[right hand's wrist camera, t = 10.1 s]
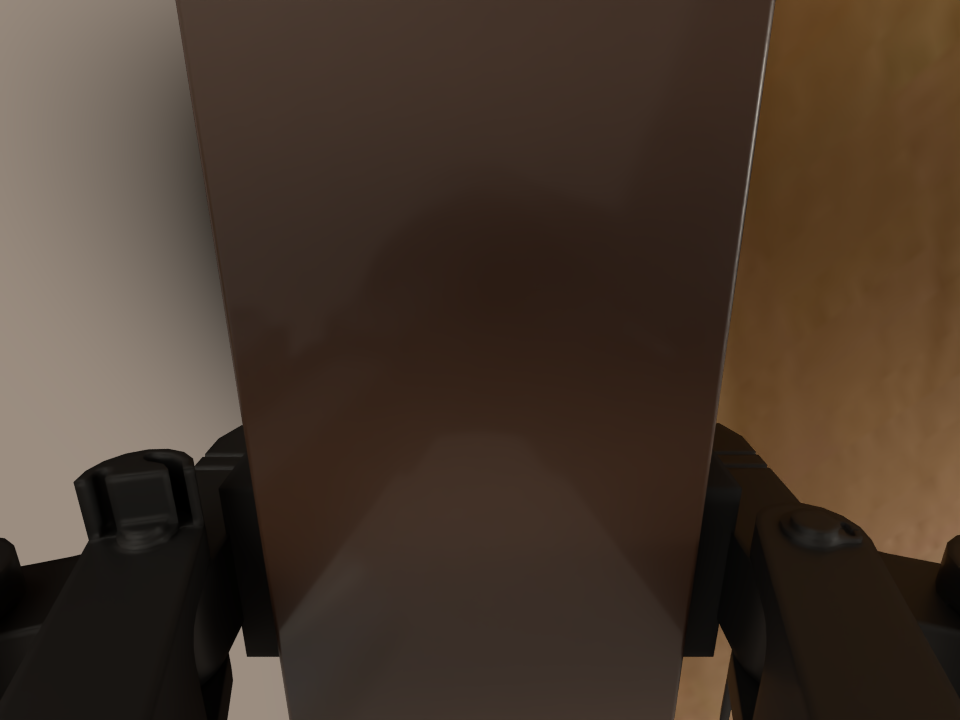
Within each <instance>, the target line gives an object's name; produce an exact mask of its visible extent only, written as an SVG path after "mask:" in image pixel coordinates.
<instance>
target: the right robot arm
mask: <svg viewBox="0 0 960 720" xmlns="http://www.w3.org/2000/svg"><path fill="white" fill-rule="evenodd" d="M74 486H75V490H76V493H77V497H78V501H79V505H80V509H81V512H82V516H83V520H84V524H85V527H86V531H87V535H88V539H89V541H88V543H87V545H86V547H85V549H84V550H83V552H82V554H81V555H77V556H73V557H68V558H62V559H57V560H52V561H47V562H42V563H37V564H31V565H26V566H20V563H19V559H18V556H17V553H16V550H15V547H14V545H13V544H11V543H10V542H9V541H8V540H6V539H5V538H0V720H227V718H228V711H229V704H230V697H231V690H232V683H233V677H232V669H231V663H230V658H229V651H230V649H231V647H232V645H233V642H234V640H235V638H236V636H237V634H238V632H239V630H240V628H241V626H242V630H243V636H244V642H245V647H246V654H247V657H279V650H278V644H277V638H276V631H275V625H274V619H273V612H272V606H271V600H270V593H269V587H268V581H267V574H266V568H265V562H264V556H263V549H262V543H261V537H260V530H259V524H258V518H257V511H256V505H255V499H254V492H253V486H252V480H251V473H250V467H249V461H248V454H247V448H246V442H245V436H244V429H243V425H241V426H240V427H238V428H236V429H234V430H233V431H231V432H229V433H227V434H226V435H224V436H222V437H220V438H219V439H218V440H217V441H216V442H215V443H214V444H213V446H212V447H211V448H210V449H209V450H208V451H207V453H206V454H205V457H202V458H201V459H200V461H199V462H198V463H197V464H196V465H195V466H194V461H193V458H191V457H190V456H189V455H187V454H186V453H185V452H181V451H176V450H171V449H149V450H143V451H138V452H132V453H127V454H123V455H120V456H118V457H115V458H112V459H109V460H106V461H103V462H101V463H100V464H98V465H96V466H94V467H92V468H90V469H88V470H86V471H85V472H84V473H83V474H82V475H81V476H80V477H79V478H78V479H76V480H75V481H74ZM719 624H720V626H721V628H722V630H723V632H724V634H725V636H726V638H727V640H728V642H729V644H730V646H731V648H732V652H731V657H730V663H729V668H728V674H727V679H726V685H725V690H724V695H723V701H722V706H721V713H720V720H729V717H730V711H731V710H732V716H733V720H960V535H957V536H955V537H954V538H953V539H951V540H950V541H949V542H947V546H946V549H945V552H944V555H943V558H942V561H941V564H939V563H934V562H929V561H924V560H918V559H913V558H908V557H903V556H897V555H892V554H887V553H883V552H879V551H877V549H876V547H875V546H874V544H873V542H872V540H871V539H870V538H869V537H868V535H867V534H866V533H865V532H864V531H863V530H862V529H861V528H860V527H859V526H858V525H856V524H854V523H853V522H851V521H850V520H848V519H847V518H845V517H844V516H842V515H839V514H837V513H834V512H832V511H829V510H827V509H824V508H822V507H817V506H813V505H808V504H803V503H800V502H799V501H798V499H797V498H796V497H795V496H794V495H793V494H792V493H791V491H790V490H789V489H788V488H787V487H786V486H785V485H784V483H783V482H782V481H781V480H780V479H779V478H778V477H777V476H776V474H775V473H774V472H773V471H772V470H771V469H770V468H767V464H766V463H765V462H764V461H763V460H762V458H761V457H760V456H759V455H756V452H755V450H754V449H753V448H752V447H751V446H750V445H749V444H748V443H747V441H746V440H745V439H744V438H743V437H742V436H741V435H739V434H737V433H735V432H734V431H732V430H730V429H728V428H727V427H725V426H723V425H721V424H720V423H716V426H715V433H714V440H713V447H712V454H711V461H710V469H709V476H708V483H707V490H706V497H705V504H704V511H703V518H702V525H701V532H700V540H699V547H698V554H697V561H696V568H695V575H694V582H693V589H692V596H691V603H690V610H689V618H688V625H687V632H686V639H685V646H684V653H683V657H713V656H714V650H715V644H716V639H717V633H718V627H719Z"/></svg>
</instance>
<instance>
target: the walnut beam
mask: <svg viewBox="0 0 960 720" xmlns="http://www.w3.org/2000/svg"><path fill="white" fill-rule="evenodd" d="M176 6H177V13H178V19H179V25H180V31H181V38H182V44H183V50H184V57H185V63H186V69H187V76H188V82H189V88H190V95H191V101H192V107H193V113H194V120H195V126H196V132H197V139H198V145H199V151H200V158H201V164H202V170H203V177H204V183H205V189H206V196H207V202H208V208H209V215H210V221H211V227H212V233H213V240H214V246H215V252H216V259H217V265H218V271H219V278H220V284H221V290H222V297H223V303H224V309H225V316H226V322H227V328H228V334H229V341H230V347H231V353H232V360H233V366H234V372H235V379H236V385H237V391H238V398H239V404H240V410H241V417H242V423H243V429H244V436H245V442H246V448H247V454H248V461H249V467H250V473H251V480H252V486H253V492H254V499H255V505H256V511H257V518H258V524H259V530H260V537H261V543H262V549H263V556H264V562H265V568H266V574H267V581H268V587H269V593H270V600H271V606H272V612H273V619H274V625H275V631H276V638H277V644H278V650H279V657H280V663H281V669H282V675H283V682H284V688H285V694H286V701H287V707H288V713H289V720H674V717H675V710H676V703H677V696H678V689H679V681H680V674H681V667H682V660H683V653H684V646H685V639H686V632H687V625H688V618H689V610H690V603H691V596H692V589H693V582H694V575H695V568H696V561H697V554H698V547H699V540H700V532H701V525H702V518H703V511H704V504H705V497H706V490H707V483H708V476H709V469H710V461H711V454H712V447H713V440H714V433H715V426H716V419H717V412H718V405H719V398H720V390H721V383H722V376H723V369H724V362H725V355H726V348H727V341H728V334H729V327H730V320H731V312H732V305H733V298H734V291H735V284H736V277H737V270H738V263H739V256H740V249H741V241H742V234H743V227H744V220H745V213H746V206H747V199H748V192H749V185H750V178H751V170H752V163H753V156H754V149H755V142H756V135H757V128H758V121H759V114H760V107H761V99H762V92H763V85H764V78H765V71H766V64H767V57H768V50H769V43H770V36H771V29H772V21H773V14H774V7H775V0H176Z"/></svg>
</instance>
